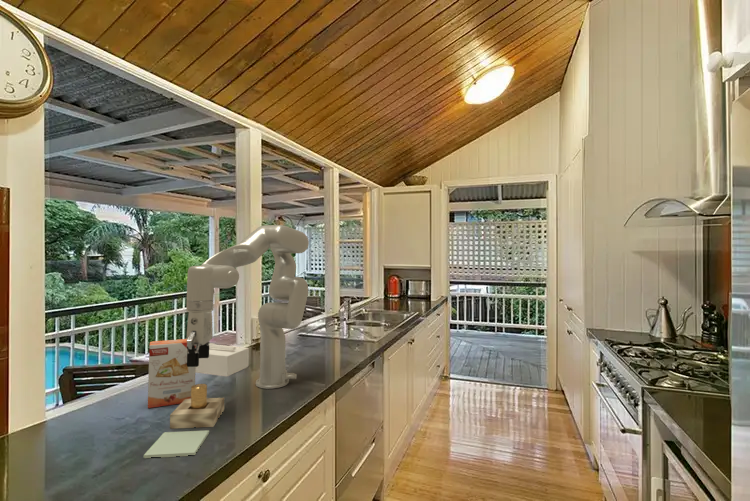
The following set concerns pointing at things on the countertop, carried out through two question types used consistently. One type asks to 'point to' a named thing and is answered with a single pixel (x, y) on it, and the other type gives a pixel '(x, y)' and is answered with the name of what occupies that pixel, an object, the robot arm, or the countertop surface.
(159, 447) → the green mat
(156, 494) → the countertop surface
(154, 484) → the countertop surface
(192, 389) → the brass plug
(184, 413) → the bored block
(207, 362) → the tissue box
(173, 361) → the cracker box
